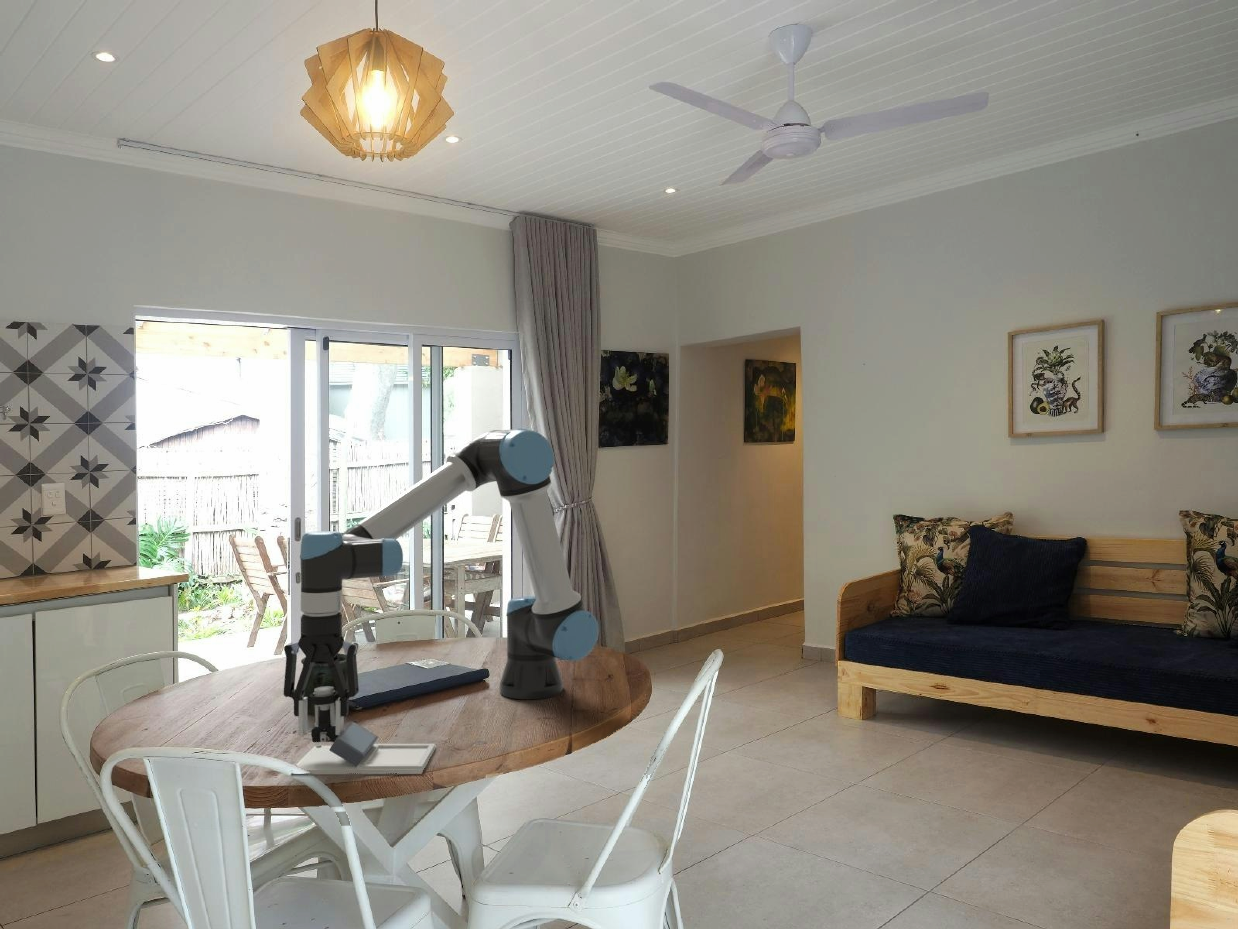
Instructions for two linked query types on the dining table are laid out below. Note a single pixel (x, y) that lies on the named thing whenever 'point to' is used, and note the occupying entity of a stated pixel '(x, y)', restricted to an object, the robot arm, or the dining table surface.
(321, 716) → the push button
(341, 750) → the blue-grey rectangular block
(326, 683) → the mug
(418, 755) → the board
